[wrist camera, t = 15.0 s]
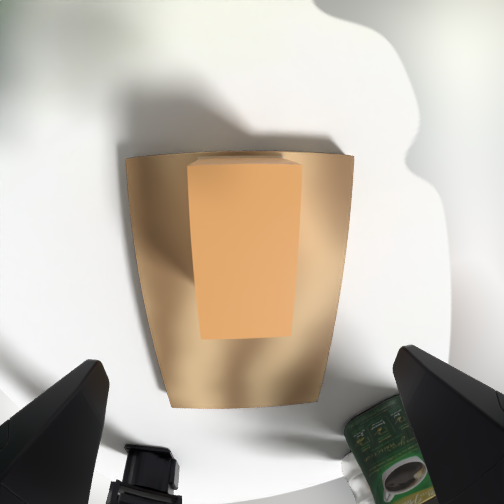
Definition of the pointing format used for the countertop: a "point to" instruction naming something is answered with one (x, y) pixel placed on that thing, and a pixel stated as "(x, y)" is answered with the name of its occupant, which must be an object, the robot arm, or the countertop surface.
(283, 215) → the block
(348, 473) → the plastic bottle
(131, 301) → the countertop surface
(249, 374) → the oak board
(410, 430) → the coffee jar
